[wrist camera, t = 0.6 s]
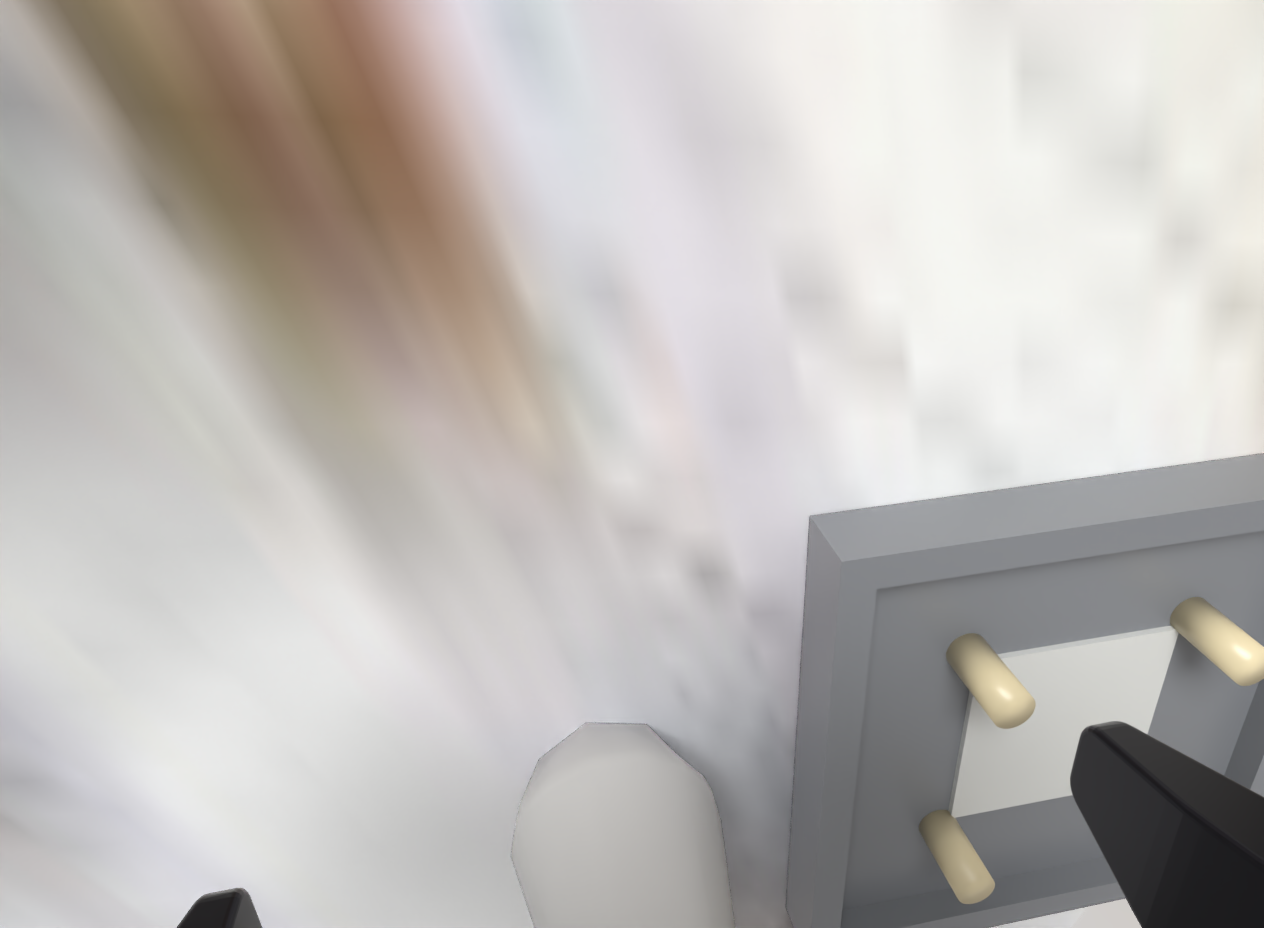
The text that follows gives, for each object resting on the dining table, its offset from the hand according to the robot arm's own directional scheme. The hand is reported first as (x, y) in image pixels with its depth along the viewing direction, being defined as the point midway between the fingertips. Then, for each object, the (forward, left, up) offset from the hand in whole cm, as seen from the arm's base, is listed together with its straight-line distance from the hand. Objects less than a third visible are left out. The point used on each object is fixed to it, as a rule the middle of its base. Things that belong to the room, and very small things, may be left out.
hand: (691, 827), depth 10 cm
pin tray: (-13, -14, -13) cm, 23 cm away
